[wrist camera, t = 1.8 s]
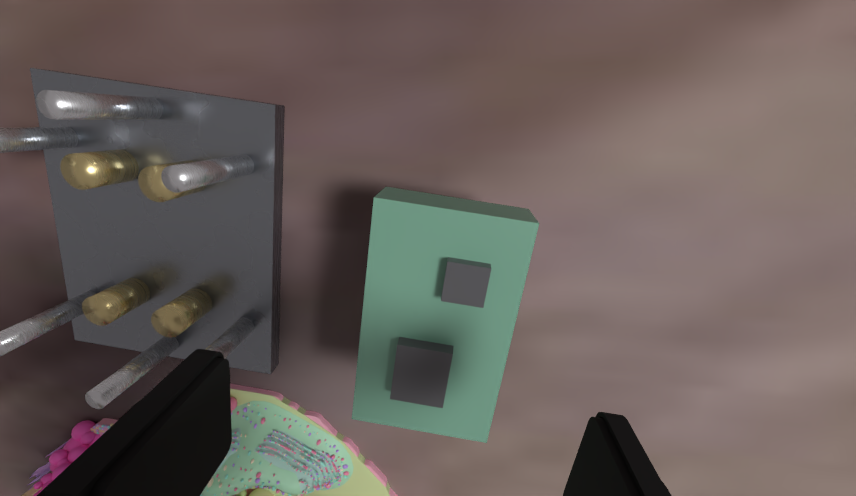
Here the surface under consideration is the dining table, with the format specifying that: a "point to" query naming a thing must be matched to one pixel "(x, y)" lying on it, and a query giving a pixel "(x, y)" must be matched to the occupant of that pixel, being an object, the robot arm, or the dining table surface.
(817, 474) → the dining table surface
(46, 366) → the dining table surface
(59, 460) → the pastel sphere sculpture
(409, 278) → the board
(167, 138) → the chassis
